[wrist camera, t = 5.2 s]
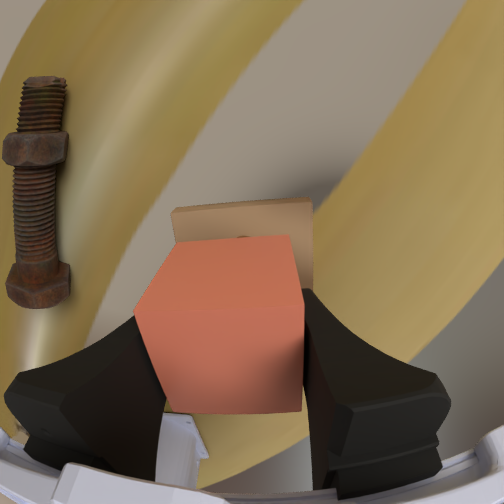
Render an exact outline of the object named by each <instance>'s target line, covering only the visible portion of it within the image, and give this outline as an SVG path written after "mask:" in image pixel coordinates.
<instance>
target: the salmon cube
mask: <svg viewBox="0 0 504 504" xmlns="http://www.w3.org/2000/svg"><path fill="white" fill-rule="evenodd" d="M133 312H134V315H135V318H136V321H137V324H138V327H139V330H140V333H141V335H142V338H143V341H144V344H145V346H146V349H147V351H148V354H149V357H150V359H151V362H152V364H153V367H154V369H155V372H156V374H157V377H158V379H159V381H160V384H161V386H162V388H163V391H164V393H165V395H166V397H167V400H168V402H169V404H170V406H171V408H172V411H173V412H180V413H198V414H269V413H287V412H300V411H302V390H303V361H304V300H303V295H302V291H301V286H300V281H299V277H298V272H297V268H296V263H295V259H294V254H293V250H292V246H291V241H290V237H289V234H287V235H272V236H257V237H243V238H229V239H215V240H202V241H189V242H177V243H176V245H175V246H174V248H173V249H172V251H171V252H170V254H169V255H168V257H167V258H166V260H165V261H164V263H163V264H162V266H161V267H160V269H159V271H158V272H157V274H156V275H155V277H154V278H153V280H152V281H151V283H150V285H149V286H148V288H147V289H146V291H145V293H144V294H143V296H142V297H141V299H140V301H139V302H138V304H137V305H136V307H135V309H134V310H133Z"/></svg>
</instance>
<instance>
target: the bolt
mask: <svg viewBox="0 0 504 504" xmlns="http://www.w3.org/2000/svg"><path fill="white" fill-rule="evenodd" d="M23 84H24V85H25V86H23V87H22V89H23V90H24V91H22V92H21V93H22V95H23V96H22V97H20V98H21V99H22V101H21V102H20V104H21V107H19V109H20V112H19V113H18V114H19V115H20V117H18V118H17V119H18V120H19V122H18V123H17V125H18V126H19V127H18V128H17V129H16V130H17V131H18V132H13V133H9V134H8V135H7V136H6V138H5V139H4V141H3V152H2V159H3V160H4V161H5V163H6V164H8V165H11V166H14V167H15V169H14V170H13V172H14V173H15V174H14V175H13V177H14V178H15V179H14V180H13V182H14V183H15V184H14V185H13V188H14V190H13V193H14V195H13V198H14V200H13V203H14V205H13V208H14V210H13V213H14V216H13V218H15V219H14V223H15V224H14V232H15V245H16V254H15V256H16V263H14V264H13V265H12V267H11V270H10V272H9V275H8V277H7V280H6V283H5V285H6V289H7V294H8V297H9V298H10V299H11V300H12V301H13V302H15V303H16V304H18V305H19V306H21V307H24V308H29V309H43V308H50V307H53V306H56V305H58V304H59V303H61V302H62V301H64V300H65V299H66V298H67V297H68V296H69V295H70V283H71V278H70V265H69V264H66V263H63V262H60V261H58V255H57V249H56V245H55V244H56V241H55V223H54V222H55V219H54V217H55V214H54V212H55V209H54V207H55V204H54V203H55V199H54V198H55V194H54V193H55V189H54V188H55V187H56V186H55V184H54V183H55V182H56V180H55V179H54V178H55V177H56V175H55V174H54V173H56V170H55V168H56V167H57V166H56V165H55V164H57V163H61V162H63V161H64V160H65V158H66V155H67V146H68V137H69V135H68V133H67V132H66V131H60V130H59V129H58V128H59V127H60V126H61V125H59V124H58V123H59V122H60V121H61V120H60V119H59V118H60V117H61V116H62V115H61V114H60V113H61V112H62V111H63V110H62V109H61V108H62V107H63V106H64V105H63V104H62V102H63V101H64V99H63V97H64V96H65V94H64V92H65V91H67V90H66V89H65V87H66V86H68V85H67V84H66V80H65V79H64V78H58V77H55V76H41V77H29V78H28V79H27V80H26V81H25V82H23Z"/></svg>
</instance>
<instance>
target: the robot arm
mask: <svg viewBox="0 0 504 504" xmlns="http://www.w3.org/2000/svg"><path fill="white" fill-rule="evenodd" d="M301 291H302V295H303V300H304V361H303V387H304V392H305V397H306V402H307V409H308V420H309V432H310V444H311V460H312V480H313V491H305V492H293V493H274V494H231V493H212V492H206V491H203V490H200V489H196V484H197V478H198V471H199V465H200V459H201V458H204V459H207V458H209V454H208V452H207V450H206V447H205V445H204V443H203V441H202V438H201V436H200V434H199V431H198V429H197V427H196V424H195V422H194V420H193V417H192V416H190V415H187V414H173V413H163V411H164V407H165V403H166V399H167V397H166V395H165V393H164V391H163V388H162V386H161V384H160V381H159V379H158V377H157V374H156V372H155V369H154V367H153V364H152V362H151V359H150V357H149V354H148V351H147V349H146V346H145V344H144V341H143V338H142V335H141V333H140V330H139V327H138V324H137V321H136V318H135V315H134V316H133V317H131V318H130V319H129V320H128V321H126V322H125V323H124V324H122V325H121V326H119V327H118V328H117V329H115V330H114V331H113V332H111V333H110V334H108V335H107V336H105V337H104V338H102V339H101V340H99V341H98V342H96V343H94V344H92V345H91V346H89V347H87V348H85V349H83V350H81V351H79V352H77V353H75V354H73V355H71V356H69V357H67V358H64V359H62V360H59V361H57V362H54V363H51V364H48V365H45V366H42V367H39V368H35V369H31V370H27V371H23V372H19V373H18V374H17V376H16V377H15V379H14V380H13V382H12V383H11V384H10V386H9V387H8V389H7V390H6V392H5V393H4V399H5V403H6V405H7V407H8V408H9V410H10V411H11V413H12V414H13V415H14V416H15V418H16V419H17V420H18V421H19V422H20V423H21V425H22V426H23V427H24V428H25V429H26V430H27V431H28V433H29V434H30V437H29V439H28V441H27V443H26V444H25V445H23V444H21V443H19V442H17V441H15V440H13V439H11V438H10V437H9V435H8V434H7V433H6V432H5V431H4V430H3V429H2V428H1V427H0V492H1V493H3V494H4V495H5V496H7V497H9V498H10V499H12V500H13V501H15V502H17V503H18V504H503V503H504V425H502V426H500V427H498V428H496V429H494V430H492V431H490V432H489V433H487V434H486V435H484V436H483V437H482V438H481V439H480V440H479V441H478V442H477V444H476V445H475V447H474V448H473V449H470V450H468V451H466V452H463V453H461V454H458V455H456V456H453V457H451V458H448V459H446V460H443V461H441V460H440V457H439V454H438V451H437V449H436V447H437V446H438V445H439V440H438V438H437V435H436V432H437V431H438V429H439V428H440V426H441V424H442V423H443V421H444V420H445V418H446V416H447V414H448V412H449V410H450V407H451V399H450V397H449V396H448V394H447V392H446V389H445V387H444V386H443V384H442V382H441V381H440V379H439V378H438V376H437V375H436V374H435V373H433V372H429V371H426V370H423V369H420V368H417V367H414V366H411V365H409V364H406V363H404V362H402V361H399V360H397V359H395V358H393V357H391V356H389V355H387V354H385V353H383V352H381V351H380V350H378V349H376V348H374V347H373V346H371V345H369V344H368V343H366V342H365V341H363V340H362V339H361V338H359V337H358V336H356V335H355V334H354V333H352V332H351V331H350V330H349V329H348V328H346V327H345V326H344V325H343V324H342V323H341V322H340V321H339V320H338V319H337V318H336V317H335V316H334V315H333V314H332V313H331V312H330V311H329V310H328V309H327V308H326V307H325V306H324V305H323V303H322V302H321V301H320V300H319V299H318V298H317V296H316V295H315V294H314V292H313V291H312V290H311V289H310V288H302V289H301Z"/></svg>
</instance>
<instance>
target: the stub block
mask: <svg viewBox="0 0 504 504" xmlns="http://www.w3.org/2000/svg"><path fill="white" fill-rule="evenodd" d="M171 218H172V224H173V230H174V235H175V241H176V243H177V242H189V241H202V240H215V239H229V238H243V237H257V236H272V235H287V234H289V237H290V241H291V246H292V250H293V254H294V259H295V263H296V268H297V272H298V277H299V281H300V286H301V289H302V288H310V289H311V290H312V291H313V216H312V201H311V199H310V198H309V197H299V198H283V199H268V200H255V201H241V202H229V203H218V204H208V205H197V206H187V207H177V208H175V209H174V210H173V211H172V212H171Z"/></svg>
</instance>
